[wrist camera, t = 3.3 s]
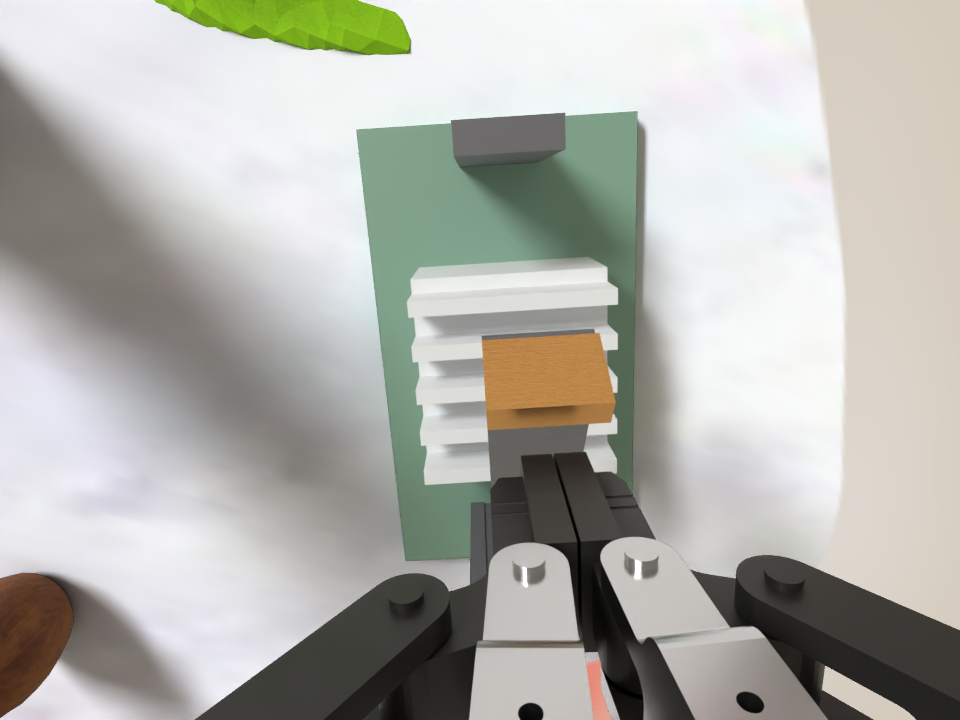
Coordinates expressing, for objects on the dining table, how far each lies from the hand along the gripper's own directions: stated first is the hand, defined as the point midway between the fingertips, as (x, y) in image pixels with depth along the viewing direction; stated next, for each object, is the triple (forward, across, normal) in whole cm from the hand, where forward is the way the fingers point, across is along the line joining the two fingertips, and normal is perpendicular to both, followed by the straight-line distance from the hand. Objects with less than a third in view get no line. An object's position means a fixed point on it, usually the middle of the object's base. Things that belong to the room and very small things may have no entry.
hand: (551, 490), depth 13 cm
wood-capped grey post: (+7, 0, +4) cm, 8 cm away
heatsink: (+20, 0, +3) cm, 20 cm away
